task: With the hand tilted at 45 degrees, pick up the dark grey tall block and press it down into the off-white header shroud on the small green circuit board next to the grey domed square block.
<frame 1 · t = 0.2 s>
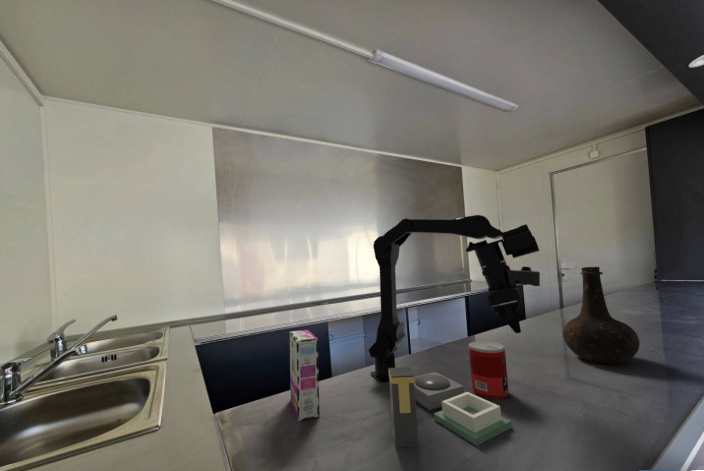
hand: (517, 328, 67), 15 cm above the worktop, tool pointing down, fingers open, 9 cm apart
glass bottle: (601, 360, 87), on the worktop
candy bar box: (304, 409, 66), on the worktop
dark grey tall block: (404, 440, 52), on the worktop
canned food: (490, 393, 69), on the worktop
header: (471, 423, 56), on the worktop
grey domed square block: (433, 395, 69), on the worktop
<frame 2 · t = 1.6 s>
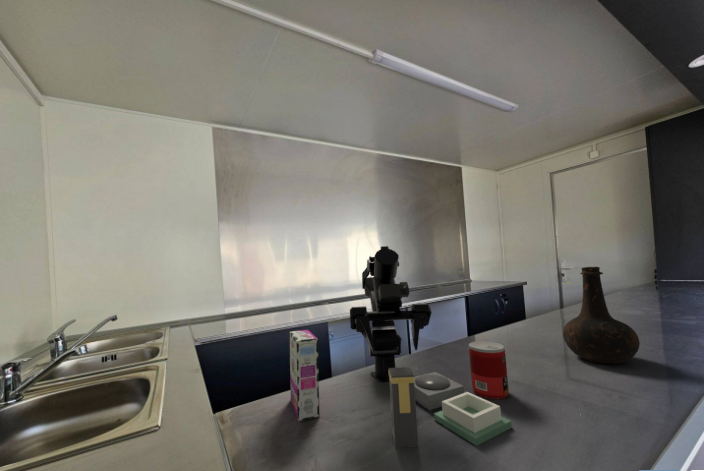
hand: (395, 350, 61), 13 cm above the worktop, tool tilted 45°, fingers open, 9 cm apart
nothing on the worktop moved.
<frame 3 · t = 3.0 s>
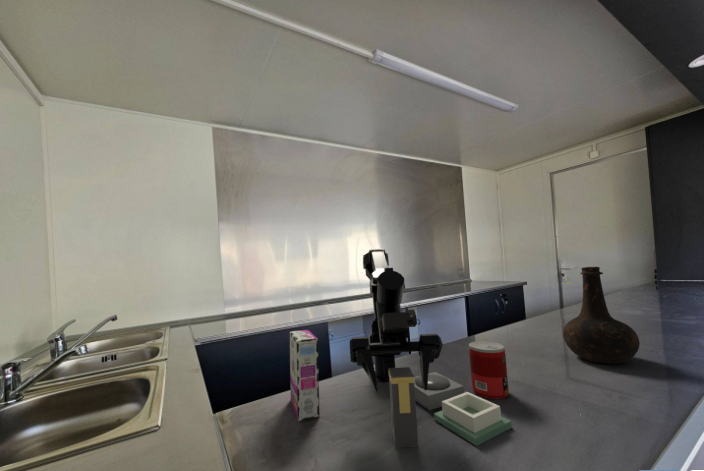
hand: (401, 390, 54), 8 cm above the worktop, tool tilted 45°, fingers open, 9 cm apart
nothing on the worktop moved.
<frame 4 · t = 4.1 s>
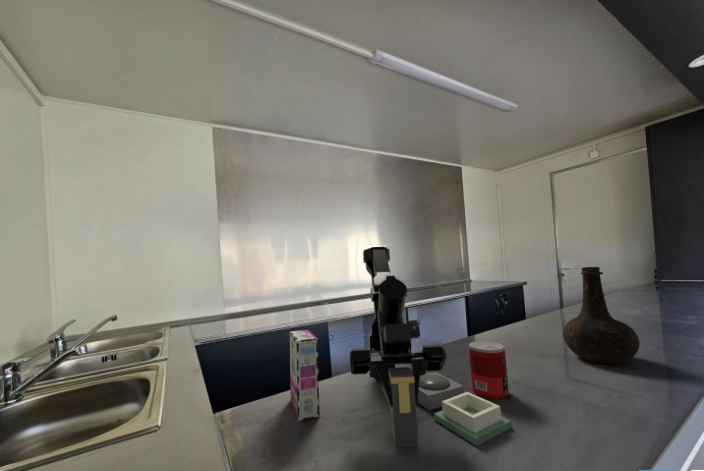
hand: (403, 405, 51), 7 cm above the worktop, tool tilted 45°, fingers closed on dark grey tall block, 4 cm apart
dark grey tall block: (404, 440, 52), on the worktop, touching gripper
everything else where it was.
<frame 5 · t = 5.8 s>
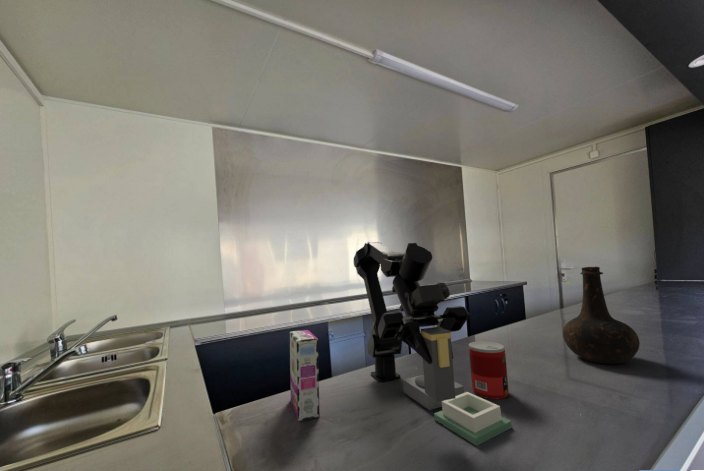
hand: (441, 361, 53), 13 cm above the worktop, tool tilted 45°, fingers closed on dark grey tall block, 4 cm apart
dark grey tall block: (439, 395, 54), point 7 cm above the worktop, touching gripper
everything else where it was.
when the fingers open (9 cm above the worktop, at t = 7.7 s): dark grey tall block stays where it is, resting on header.
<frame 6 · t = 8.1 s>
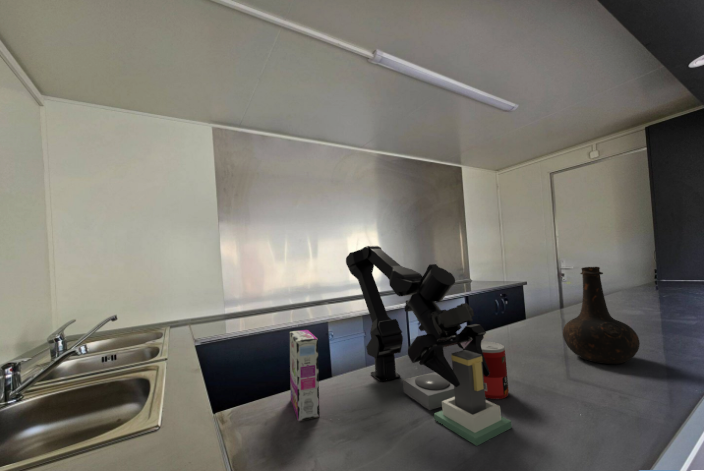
hand: (473, 380, 56), 9 cm above the worktop, tool tilted 45°, fingers open, 8 cm apart
dark grey tall block: (471, 417, 56), point 1 cm above the worktop, touching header
everything else where it was.
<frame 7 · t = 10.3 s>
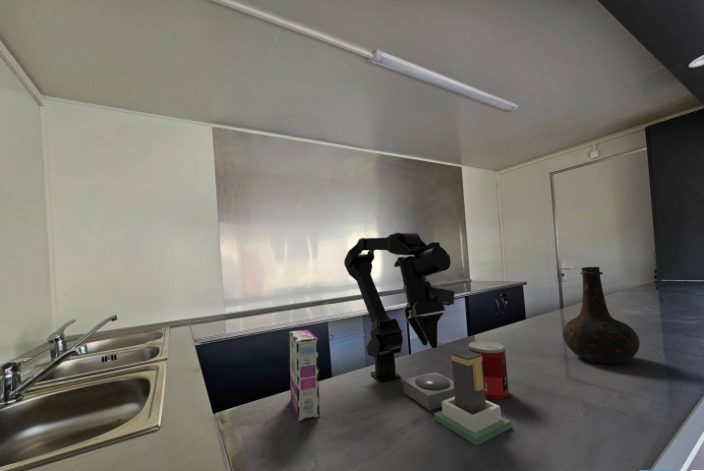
hand: (429, 346, 67), 12 cm above the worktop, tool pointing down, fingers open, 9 cm apart
nothing on the worktop moved.
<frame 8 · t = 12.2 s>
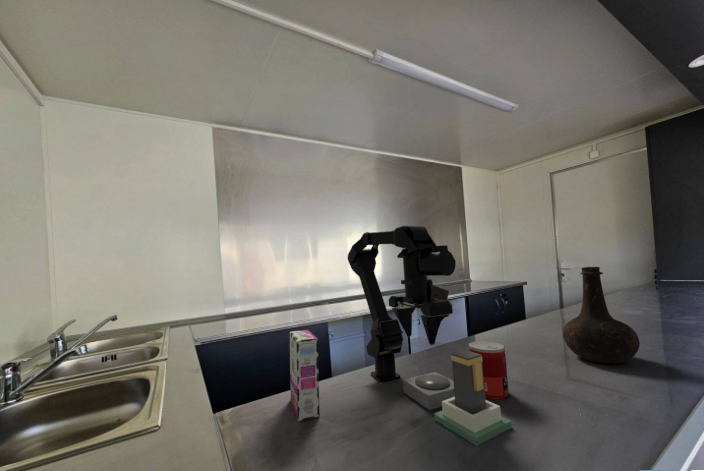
hand: (420, 340, 70), 13 cm above the worktop, tool pointing down, fingers open, 9 cm apart
nothing on the worktop moved.
at the end: dark grey tall block 0.0 cm off-centre on the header, point 1.2 cm above the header's base; dark grey tall block tilted 0°; the gripper is holding nothing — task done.
